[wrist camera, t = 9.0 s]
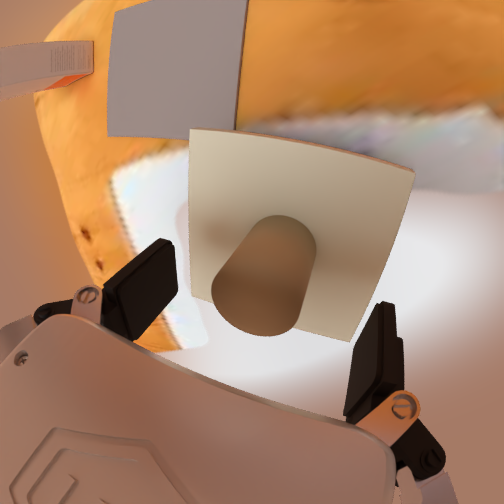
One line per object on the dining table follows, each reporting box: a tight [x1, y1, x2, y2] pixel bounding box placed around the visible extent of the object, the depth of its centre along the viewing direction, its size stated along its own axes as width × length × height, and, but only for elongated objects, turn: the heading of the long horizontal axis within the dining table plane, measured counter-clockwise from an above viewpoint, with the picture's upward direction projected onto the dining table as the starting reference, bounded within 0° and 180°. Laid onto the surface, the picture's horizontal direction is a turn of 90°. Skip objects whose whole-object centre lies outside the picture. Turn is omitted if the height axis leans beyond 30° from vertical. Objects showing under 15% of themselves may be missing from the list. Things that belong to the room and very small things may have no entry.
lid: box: [188, 127, 416, 342], centre depth 14 cm, size 12×12×6 cm
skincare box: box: [0, 41, 94, 101], centre depth 15 cm, size 6×4×12 cm
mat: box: [107, 0, 249, 140], centre depth 18 cm, size 14×14×1 cm
